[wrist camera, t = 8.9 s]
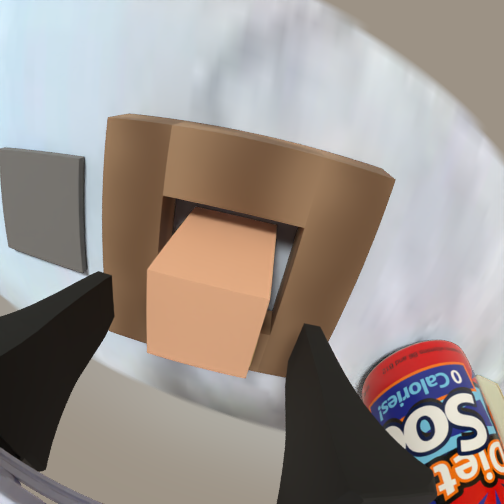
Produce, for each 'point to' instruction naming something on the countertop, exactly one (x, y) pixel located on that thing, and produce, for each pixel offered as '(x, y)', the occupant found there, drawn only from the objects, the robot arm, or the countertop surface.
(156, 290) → the peg
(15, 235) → the pad
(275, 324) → the socket block
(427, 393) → the soda can
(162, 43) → the countertop surface
